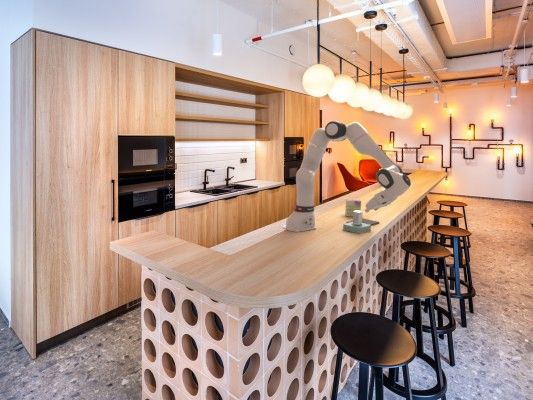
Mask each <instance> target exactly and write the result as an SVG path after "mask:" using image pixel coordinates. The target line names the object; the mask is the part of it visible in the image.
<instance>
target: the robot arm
mask: <svg viewBox="0 0 533 400" xmlns="http://www.w3.org/2000/svg"><path fill="white" fill-rule="evenodd" d="M345 140H348V141H349V142H350V144H351V146H352V147H353V149H355V152H357V153H358V154H360V155H364V156H370V157H372V158H373V159H374V160H375V161H376V162H377V163H378V164H379V165H380V166H381V169H379V170H378V171H377V172H376V175H375V180H376V181H377V183H378V184H379V185H380V186H382V187H383V189H382V190H380V191H379V192H377V193H375V194H374V195H373V197H372V198H371V199H370V200H368V201H367V203H366V204H365V210H364V212H365V213H366V214H367V213H369V212H370V211H371V210H374V211H378V210H379V209H381V208H384V207H388V206H389V205H391V204H392V203H393V202H394V201H396V200H397V199H398V198H399V197H400V196H402V195H403V194H405V193H406V191H408V190H409V188H410V187H411V184H412V181H411V179H410V178H409V176H408V175H407V174H404V173H403V169H402V167H401V166H399V165H397V164H396V163H394V162H393V160H391V158H390V157H389V156H388V155H387V154H386V152H385V151H384V150H383V148H381V147H380V146H379V145H378V144H377V142H375V140H374V139H373V137H372V136H371V135H370V134H369V133H368V131H367V129H366V128H365V127H363V125H362V124H361V123H359V122H357V121H353V122H351V123H349V124H347V125H346V124H345V123H343V122H341V121H338V120H332V121H329V122H328V123H326V125H325V128H322V127H320V128H319V127H318V128H316V129H315V130H314V132H313V134H312V135H311V137H310V140H309V142H308V145H307V148H306V150H305V152H304V154H303V159H302V162H301V165H300V168H299V169H298V170H297V171H296V174H295V183H296V184H295V187H296V204H295V205H292V206H291V209H292V210H294V211H292V213H291V214H290V215H289V216H288V217H287V218H286V223H285V224H284V225H282V229H284V230H286V231H289V232H296V233H298V232H305V231H312V230H316V229H317V227H316V218H315V204H314V203H315V177H316V175H317V172H318V170H319V168H320V165H321V162H322V160H323V157H324V155H325V152H326V150H327V148H328V147H327V146H328V145H329V143H330V142H343V141H345Z"/></svg>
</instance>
